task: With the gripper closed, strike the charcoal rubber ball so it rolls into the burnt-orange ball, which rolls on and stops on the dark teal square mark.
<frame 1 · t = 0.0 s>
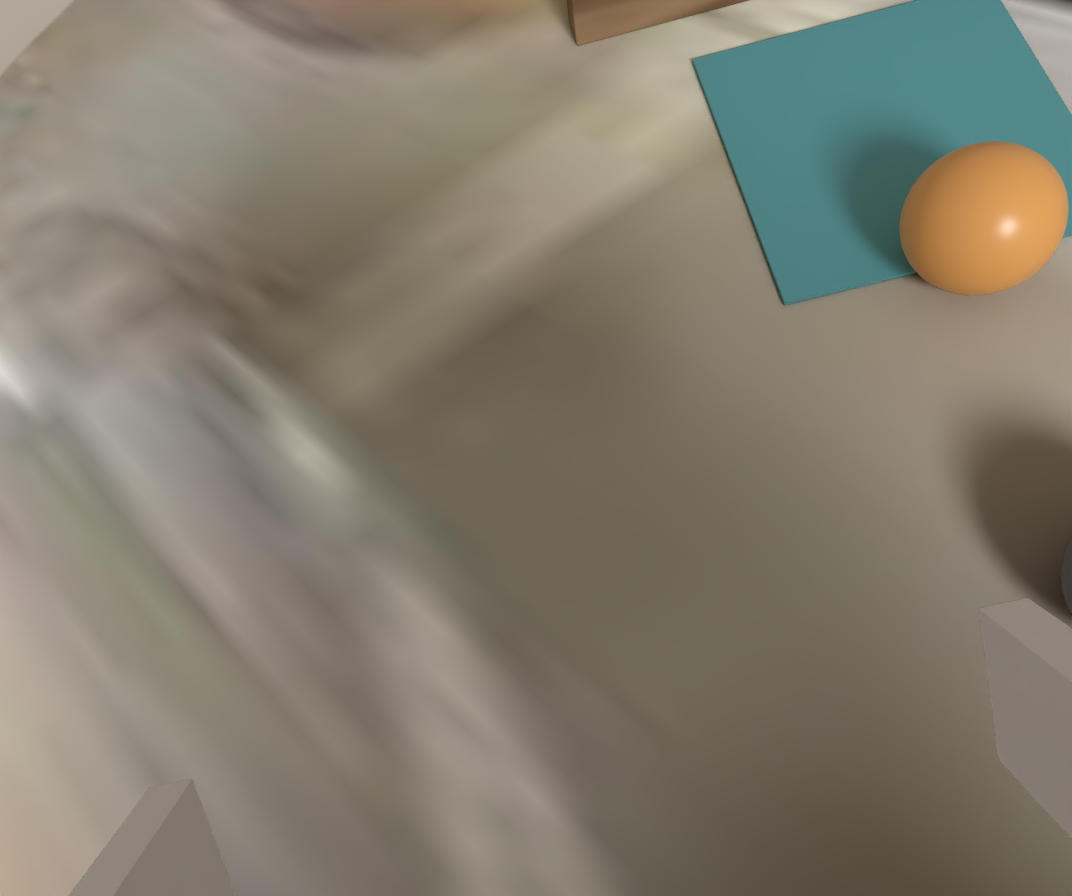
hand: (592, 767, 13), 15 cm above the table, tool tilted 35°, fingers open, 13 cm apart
teal mark: (892, 134, 36), on the table
orange ball: (980, 220, 30), on the table
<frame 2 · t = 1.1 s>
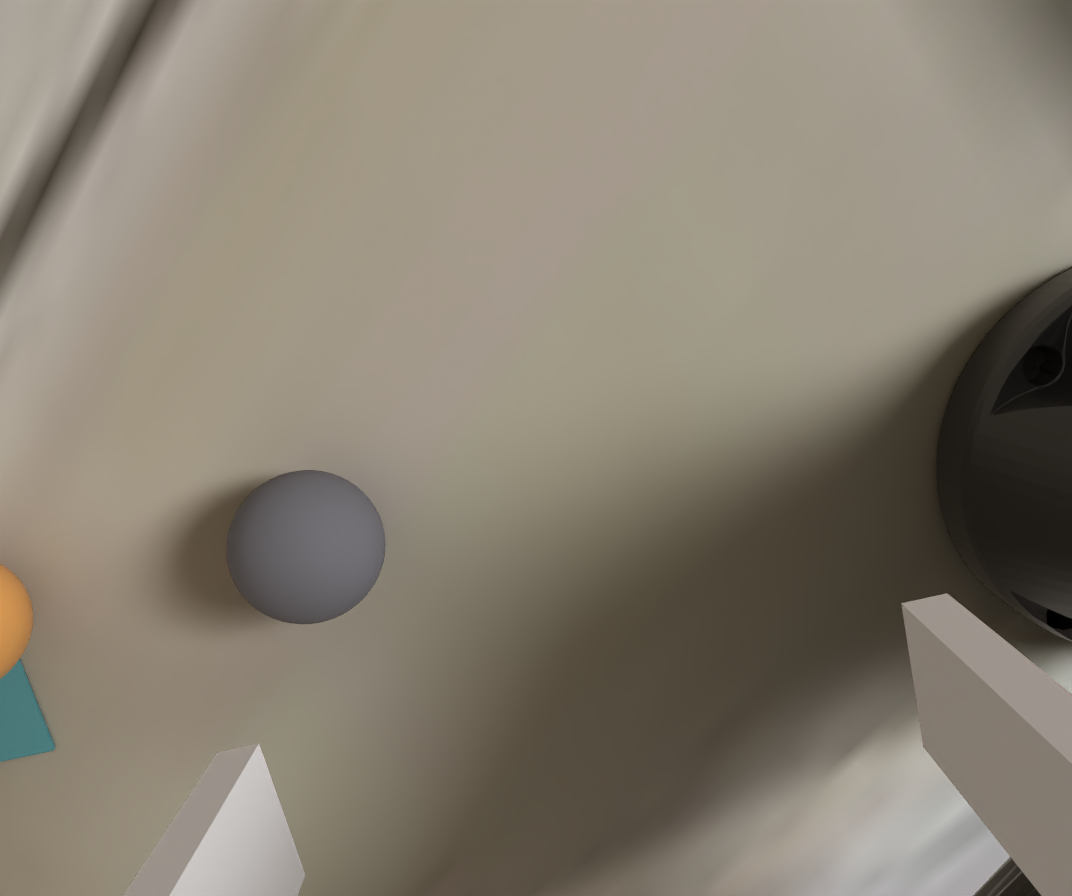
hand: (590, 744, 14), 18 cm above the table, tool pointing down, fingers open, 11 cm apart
charcoal ball: (307, 546, 29), on the table
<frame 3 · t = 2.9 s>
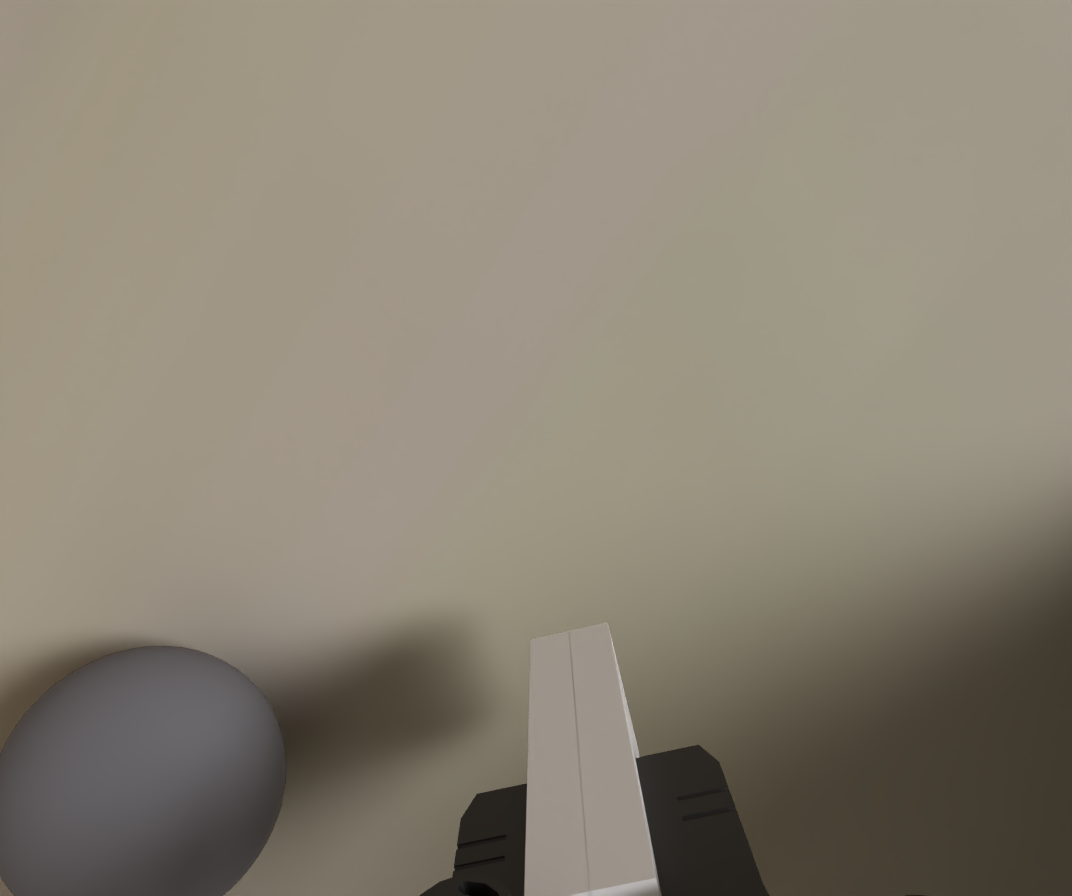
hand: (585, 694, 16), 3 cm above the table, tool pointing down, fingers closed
charcoal ball: (146, 783, 17), on the table
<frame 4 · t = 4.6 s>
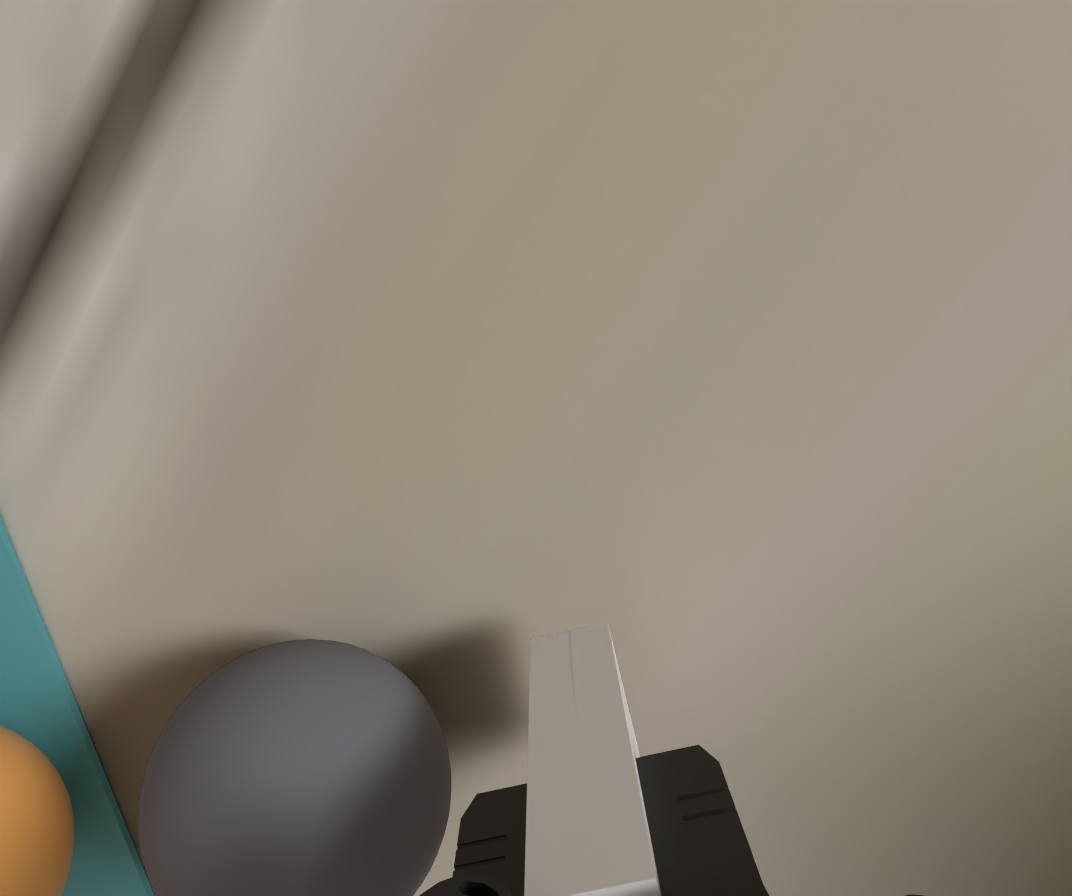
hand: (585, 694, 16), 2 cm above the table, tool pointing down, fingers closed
charcoal ball: (302, 791, 15), on the table
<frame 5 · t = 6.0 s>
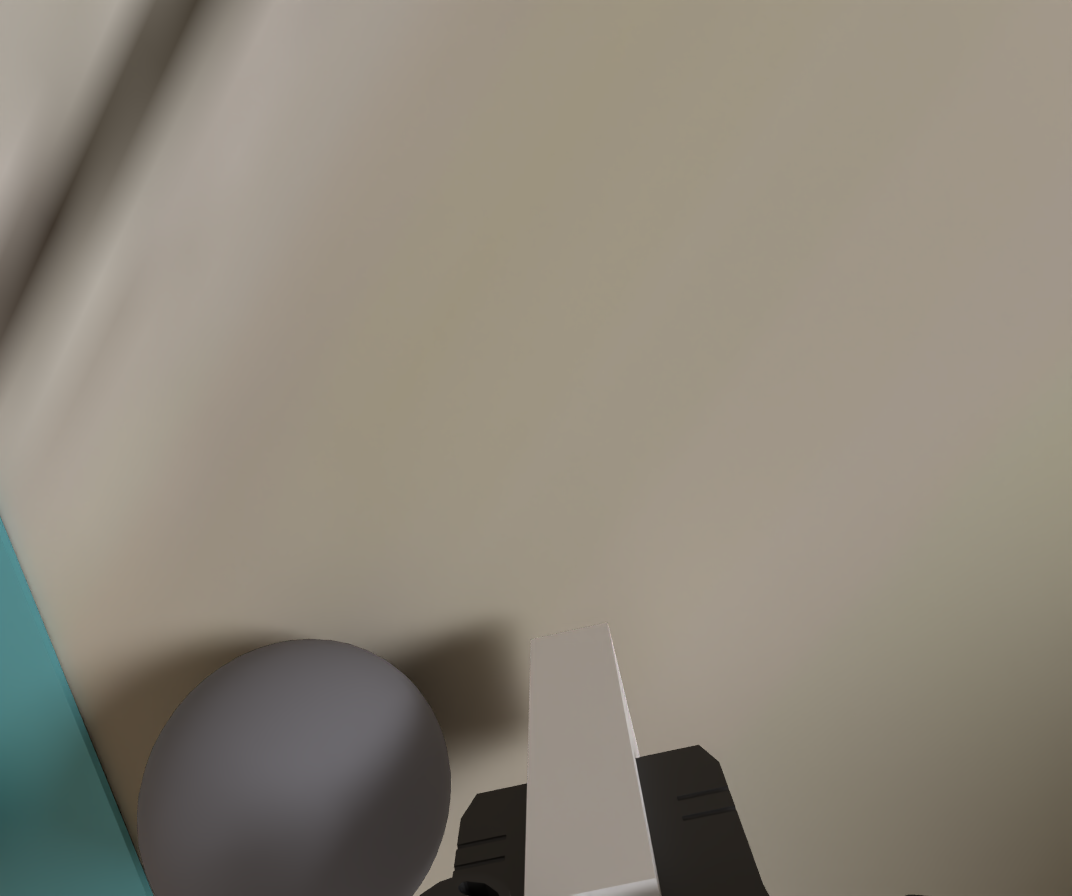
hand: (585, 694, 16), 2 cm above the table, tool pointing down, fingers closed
charcoal ball: (301, 791, 15), on the table
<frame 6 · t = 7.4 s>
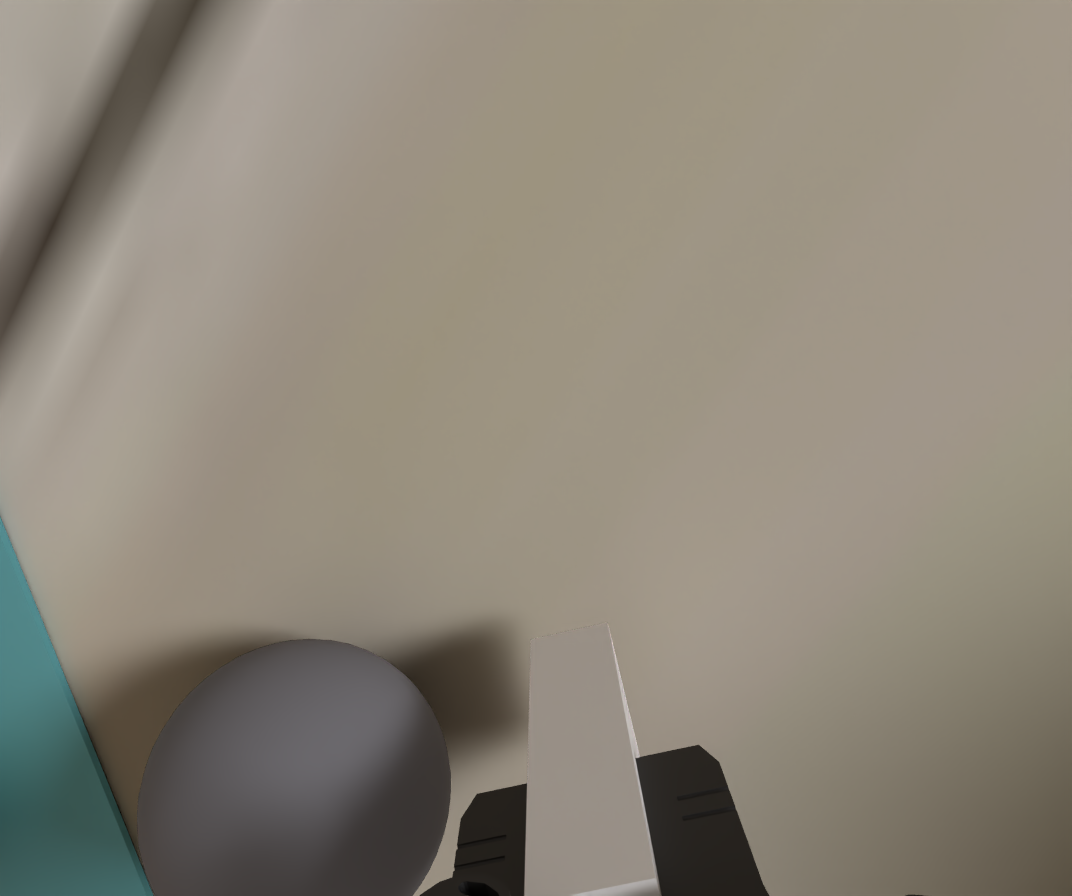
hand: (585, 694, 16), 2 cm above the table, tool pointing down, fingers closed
charcoal ball: (301, 791, 15), on the table
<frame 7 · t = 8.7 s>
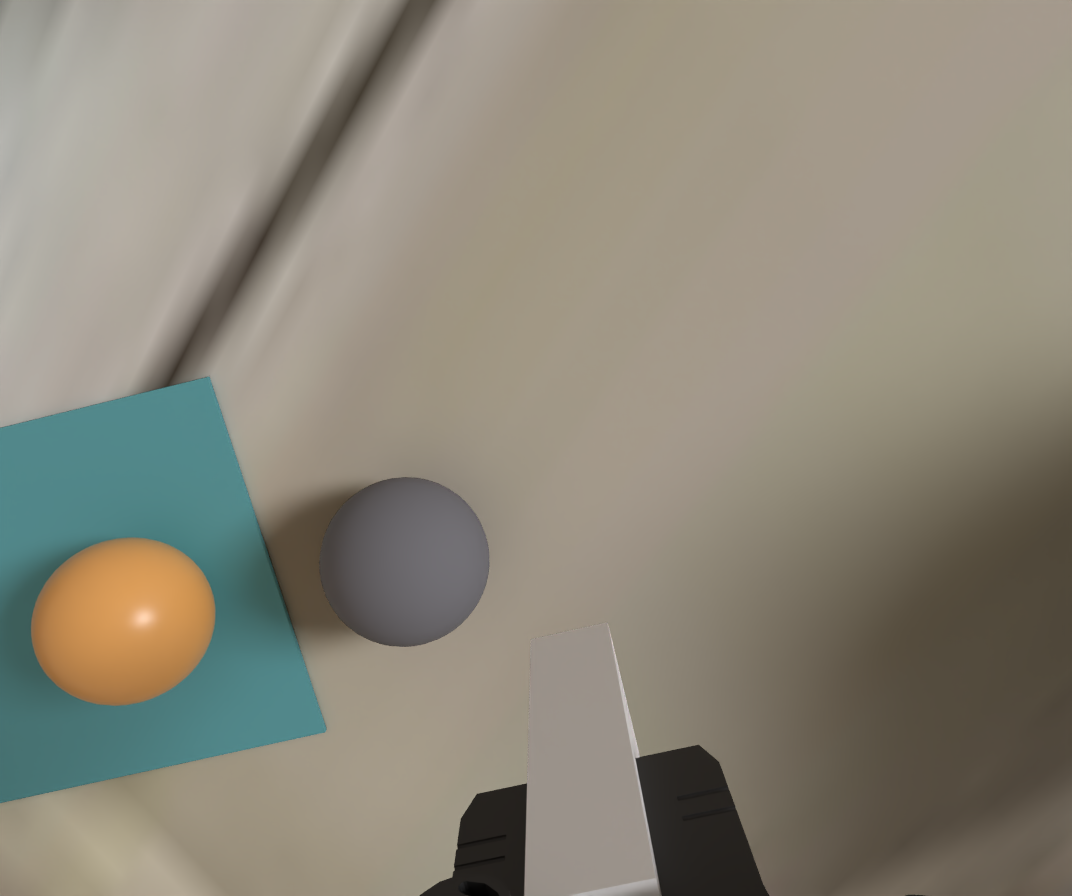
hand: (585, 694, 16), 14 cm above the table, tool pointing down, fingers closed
charcoal ball: (405, 560, 27), on the table
teal mark: (90, 603, 30), on the table
orange ball: (127, 619, 27), on the table
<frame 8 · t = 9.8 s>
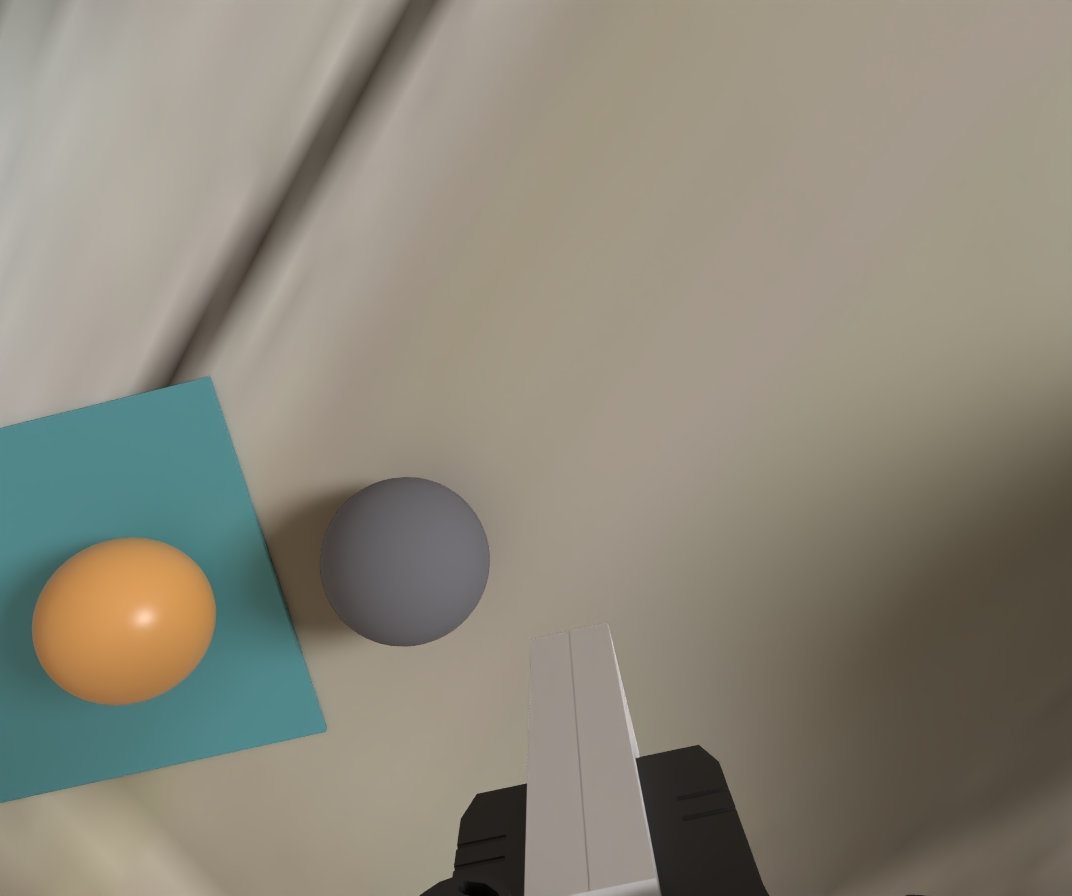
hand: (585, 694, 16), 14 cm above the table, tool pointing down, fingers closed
charcoal ball: (406, 560, 27), on the table
teal mark: (91, 603, 30), on the table
orange ball: (128, 619, 27), on the table
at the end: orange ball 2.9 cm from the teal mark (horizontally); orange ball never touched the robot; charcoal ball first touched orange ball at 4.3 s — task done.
